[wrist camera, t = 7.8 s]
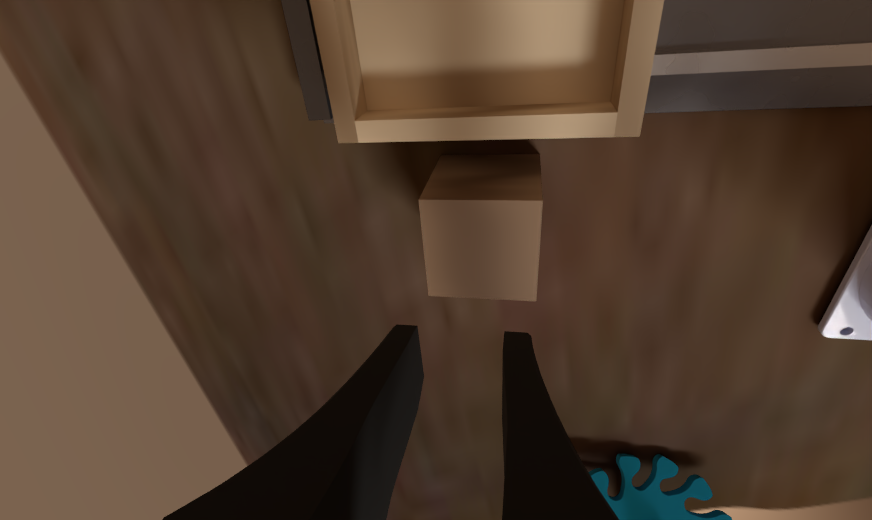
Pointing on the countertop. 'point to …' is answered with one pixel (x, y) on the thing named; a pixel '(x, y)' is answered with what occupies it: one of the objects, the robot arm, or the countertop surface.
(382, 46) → the shallow wooden tray
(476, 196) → the part block
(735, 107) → the rail base
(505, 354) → the robot arm
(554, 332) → the countertop surface
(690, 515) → the gear
